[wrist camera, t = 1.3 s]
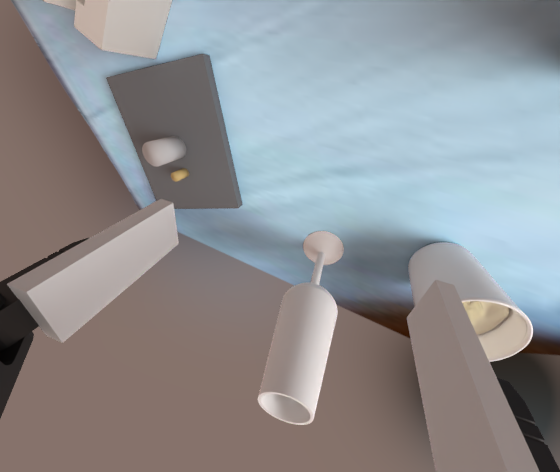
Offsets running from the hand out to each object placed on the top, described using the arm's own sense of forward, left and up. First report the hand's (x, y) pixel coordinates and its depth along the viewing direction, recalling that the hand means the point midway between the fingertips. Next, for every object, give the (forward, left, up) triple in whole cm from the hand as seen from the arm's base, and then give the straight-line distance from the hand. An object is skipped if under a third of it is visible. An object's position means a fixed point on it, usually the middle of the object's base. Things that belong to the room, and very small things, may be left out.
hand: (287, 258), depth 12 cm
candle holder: (+17, +15, -24) cm, 33 cm away
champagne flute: (+15, -2, -24) cm, 28 cm away
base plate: (-3, -23, -23) cm, 33 cm away
